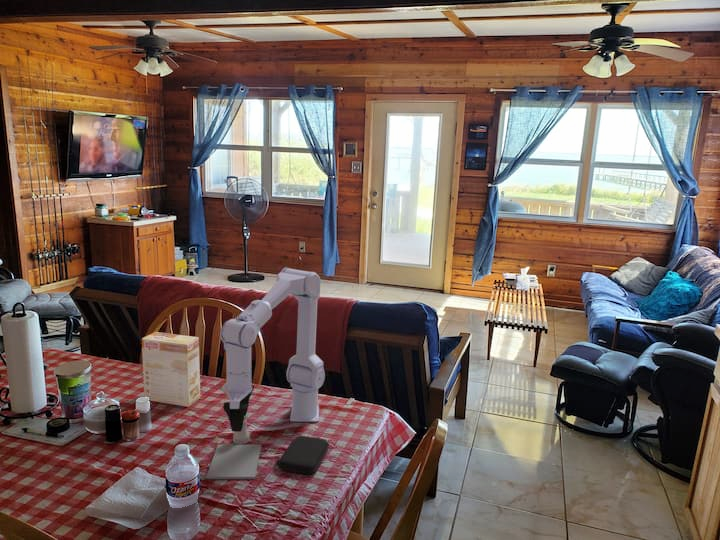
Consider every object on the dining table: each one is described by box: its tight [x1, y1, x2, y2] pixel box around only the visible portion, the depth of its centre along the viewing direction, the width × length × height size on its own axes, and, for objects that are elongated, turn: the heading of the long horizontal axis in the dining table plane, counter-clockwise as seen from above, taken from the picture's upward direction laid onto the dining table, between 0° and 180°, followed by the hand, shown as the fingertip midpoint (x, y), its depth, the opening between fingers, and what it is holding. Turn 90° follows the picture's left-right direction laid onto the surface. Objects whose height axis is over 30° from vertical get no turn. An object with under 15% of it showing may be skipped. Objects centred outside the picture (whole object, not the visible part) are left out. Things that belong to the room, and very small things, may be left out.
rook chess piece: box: [232, 413, 251, 445], centre depth 141 cm, size 4×4×8 cm
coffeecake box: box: [141, 331, 201, 408], centre depth 162 cm, size 15×7×20 cm, turn 76°
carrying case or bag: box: [275, 435, 330, 477], centre depth 135 cm, size 11×3×15 cm
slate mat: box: [205, 444, 262, 480], centre depth 132 cm, size 14×11×1 cm
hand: (239, 422), depth 130 cm, fingers open, 7 cm apart
